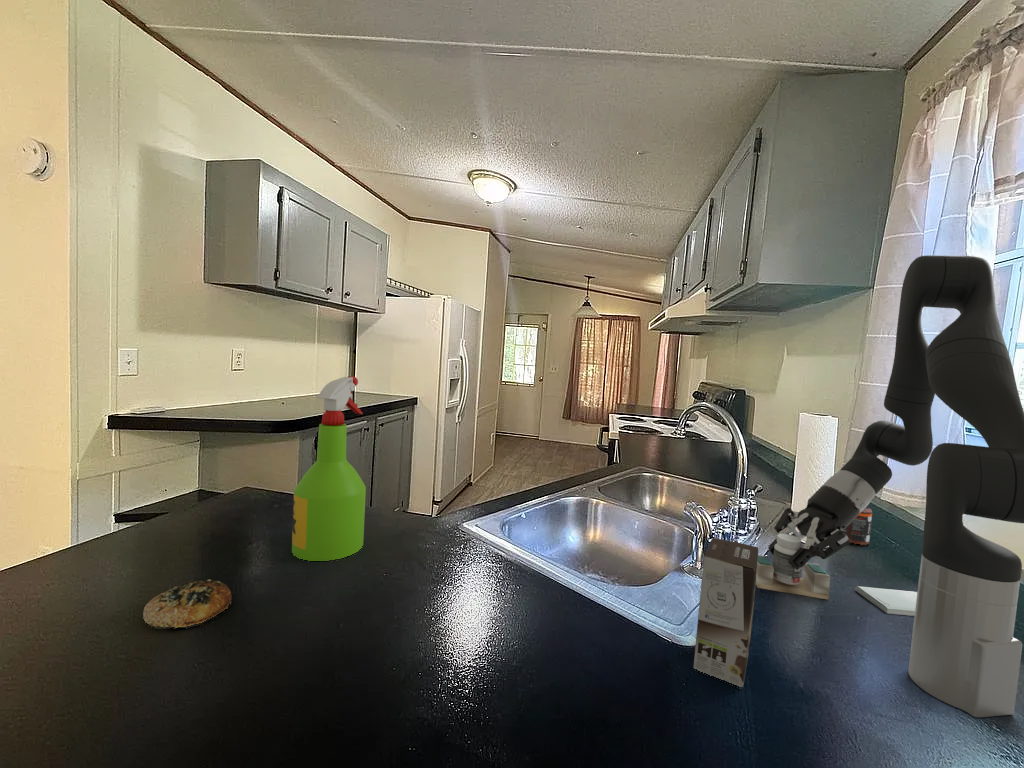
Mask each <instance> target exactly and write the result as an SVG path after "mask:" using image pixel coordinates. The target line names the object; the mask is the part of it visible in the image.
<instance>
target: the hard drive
mask: <svg viewBox="0 0 1024 768" xmlns="http://www.w3.org/2000/svg"><path fill="white" fill-rule="evenodd" d="M854 590H855V592H856V593H858V594H860V595H861V596H862V597H864V598H865V599H866V600H868V601H869V602H870V603H872V604H873V605H875V606H876V607H877V608H879V609H880V610H881V611H882V612H884V613H885V614H888V615H889V614H890V615H901V616H902V615H903V616H910V617H915V608H916V599H917V591H912V590H911V591H909V590H899V589H893V588H892V589H890V588H880V587H879V588H878V587H869V586H858V585H856V586H855V589H854Z"/></svg>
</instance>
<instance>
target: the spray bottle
mask: <svg viewBox="0 0 1024 768" xmlns="http://www.w3.org/2000/svg"><path fill="white" fill-rule="evenodd" d="M358 384H359V380H358V377H356V376H352V375H351V376H344V377H340V378H337V379H334V380H331V381H330V382H328V383H327V384H326V385H324V386H323V388H322V389H321V391H320V392H319V393H318V394H317V396H316V399H319V400H320V399H321V400H323V408H322V409H323V411H325V412H323V413H322V417H321V418H322V419H321V423H319V424H318V425H319V426H318V434H317V435H318V437H317V448H316V449H317V451H316V461H315V462H314V463H313V464H312V465H311V466H310V467H309V469H308V470H307V471H306V472H305V473H304V475H303V477H302V478H301V479H300V481H299V482H298V484H297V485H296V486H295V488H294V489H293V503H292V504H293V507H292V509H293V510H292V533H291V553H293V554H292V556H294V557H295V556H296V557H297V559H298V558H299V560H300V559H303V560H302V561H304V560H308V561H307V562H309V561H329V560H335V559H341V558H344V557H347V556H350V555H352V554H354V553H356V552H358V551H359V550H360V549H361V548H362V549H363V547H364V535H365V534H364V533H365V518H366V517H365V515H366V513H365V511H366V494H367V492H366V490H367V487H366V484H365V483H364V481H363V480H362V478H361V476H360V475H359V473H358V472H357V470H356V469H355V468H354V466H353V465H352V464H351V463H349V461H348V460H347V433H348V432H347V424H346V423H345V415H344V412H342V411H343V410H344V408H345V407H347V408H349V409H350V410H351V411H353V412H354V413H355V414H356V415H357V414H358V415H363V411H361V408H359V407H358V404H357V403H354V399H353V396H354V395H353V392H354V391H355V389H356V386H358ZM362 546H363V547H362ZM362 549H361V550H362ZM361 550H360V551H361ZM360 551H359V552H360ZM359 552H358V553H359ZM356 554H357V553H356ZM354 555H355V554H354ZM352 556H353V555H352ZM296 557H295V558H296ZM350 557H351V556H350ZM344 559H345V558H344ZM341 560H342V559H341Z"/></svg>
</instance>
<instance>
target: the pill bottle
mask: <svg viewBox="0 0 1024 768" xmlns="http://www.w3.org/2000/svg"><path fill="white" fill-rule="evenodd" d="M776 538H777V544H775V546H774V556H773V555H772V556H773V557H772V558H773V560H772V566H773V567H774V571H773V578H774V579H776V580H778V581H780V582H782V583H785V584H789V585H797V584H799V583H800V578H802V577H801V575H802V567H801V568H799V569H795V568H793V567H792V566H791V564H790V563H789V559H790V558H791V557H792V556H793V555H794V554H795V553H796V552H797V551H798V550H799V549H800V548H801V547H802V539H800V538H798V537H796V536H793V535H791V534H790V533H789V534H778V533H777V535H776Z"/></svg>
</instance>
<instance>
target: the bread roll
mask: <svg viewBox="0 0 1024 768" xmlns="http://www.w3.org/2000/svg"><path fill="white" fill-rule="evenodd" d="M232 597H233V595H232V591H231V589H230V588H229V587H228V585H227V584H225V583H224V582H221V581H220V580H213V579H210V578H209V579H207V580H204V581H203V580H198V581H193V580H192V581H190V582H184V583H182V584H181V585H178V586H177V585H176V586H173V588H169V589H168V590H167V591H164V592H161V593H159V594H157V596H155V597H153V598H152V599H151V600H149V601H148V602H147V603H146V605H145V606H144V608H143V612H142V619H144V621H145V622H144V623H145V624H146V623H147V624H149V625H151V626H155V627H158V626H159V627H164V628H165V627H175V628H174V629H176V628H178V627H187V626H191V625H194V624H199V623H202V622H204V621H206V620H207V619H210V618H212V617H214V616H216V615H217V614H219V613H221V612H222V611H224V610H225V609H227V610H228V608H229V607H230V606H229V604H230V605H231V604H232V601H231V600H232ZM228 606H229V607H228ZM224 612H225V611H224ZM147 624H146V625H147ZM149 625H148V626H149Z"/></svg>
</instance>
